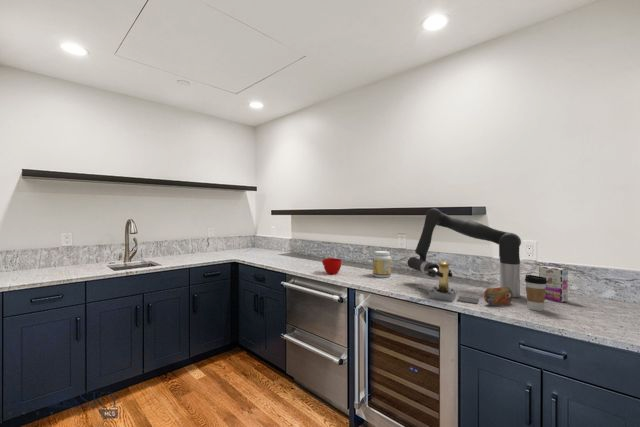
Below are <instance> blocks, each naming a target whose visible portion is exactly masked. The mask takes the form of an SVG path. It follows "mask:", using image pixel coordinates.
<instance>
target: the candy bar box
mask: <svg viewBox="0 0 640 427" xmlns="http://www.w3.org/2000/svg"><path fill="white" fill-rule="evenodd" d="M538 271H539V274H538V276H540V277H544V278H546V280H547V284H546V293H545V299H546V300H549V301H554V302H558V303H567V302H568V277H569V276H568V273H569V272H568V268H562V267H555V266H547V265H541V266H540V265H539V268H538Z"/></svg>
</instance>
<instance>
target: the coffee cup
mask: <svg viewBox="0 0 640 427" xmlns="http://www.w3.org/2000/svg"><path fill="white" fill-rule="evenodd" d="M524 282H525V293H526V302H527V304H526V305H527V309H529V310H532V311H537V312H538V311H539V312H543V311H544V306H545V293H546V284H547V280H546V278H544V277H540V276H539V275H534V274H533V275H532V274H526V275H525V278H524Z"/></svg>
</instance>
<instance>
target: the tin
mask: <svg viewBox="0 0 640 427" xmlns="http://www.w3.org/2000/svg"><path fill="white" fill-rule="evenodd" d="M483 293H484V294H483V297H484V298H483V299H484V302H485V303H486V304H488V305H490V306H493V307H495V306H496V307H497V306H505V305H508V304H510V303H511V302H512V300H513V297H512V296H513V295H512V291H511V290H510V289H509V288H508V287H500V286H494V287H493V286H491V287H488V288H486V289H485V290H484V292H483Z"/></svg>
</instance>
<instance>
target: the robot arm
mask: <svg viewBox="0 0 640 427" xmlns="http://www.w3.org/2000/svg"><path fill="white" fill-rule="evenodd" d="M436 226H438V227H444V228H447V229H449V230H452V231H454V232H457V233H458V234H461V235H463V236H466V237H469V238H473V239H476V240H477V239H478V240H481V241H488V242H491V243H494V244H496V245H498V258H499V287H508V288H509V289H510V290H511V291H512V295H513V296H512V298H521V256H520V246H521V244H522V240H521V238H520V236H518V234H516V233H514V232H508V231H503V230H500V229H499V230H498V229H495V228H492V227H490V226H488V225H485V224H482V223H480V222H477V221H474V220H471V219H467V218H460V217H454V216H451V215H448V214H446V213H443V212H442V211H441V210H439V209H438V208H430V209H429V210H428V211H427V212H426V215H425V219H424V224H423V228H422V230H421V234H420V237H419V240H418V241H417V246H416V247H415V250H414V251H415V254H417V255H418V256H419V258H417V257H415V256H411V257H410V258H409V259H407V266H408V267H409V268H410V269H412V270H415V271H417V272H421V273H422V274H424V275H426V276H429V277H431V278H437V277H438V278H439V277H443V273H441V272H439V265H438V263H434V262H430V261H427V254H428V252H429V250H430V247H431V243H432V238H433V233H434V229H435V228H436ZM452 277H453V273H452V270H451V269H449V278H452Z"/></svg>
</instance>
